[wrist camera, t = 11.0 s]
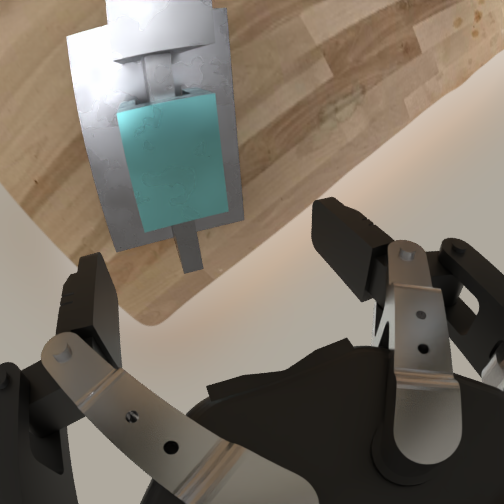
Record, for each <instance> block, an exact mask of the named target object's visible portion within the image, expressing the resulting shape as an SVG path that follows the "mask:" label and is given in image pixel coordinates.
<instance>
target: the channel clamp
mask: <svg viewBox="0 0 504 504" xmlns="http://www.w3.org/2000/svg"><path fill="white" fill-rule="evenodd" d="M182 93H183V95H182V96H176V97H171V98H166V99H161V100H156V101H152V102H147V103H143V104H139V105H136V103H135V99H134V100H130V101H126V102H122V103H120V106H119V108H118V111H117V119H118V124H119V129H120V134H121V139H122V143H123V148H124V153H125V157H126V162H127V166H128V170H129V174H130V179H131V183H132V187H133V191H134V195H135V199H136V203H137V206H138V210H139V214H140V218H141V221H142V225H143V228H144V232H149V231H153V230H157V229H160V228H164V227H168V226H172V225H176V224H180V223H184V222H188V221H192V220H196V219H200V218H204V217H208V216H212V215H216V214H220V213H224V212H228V211H229V210H228V201H227V193H226V185H225V176H224V168H223V159H222V151H221V142H220V133H219V124H218V115H217V106H216V96H215V93H213V92H210V91H207V90H204V89H201V88H198V87H193V88H187V89H182Z"/></svg>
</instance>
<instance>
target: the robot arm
mask: <svg viewBox="0 0 504 504" xmlns="http://www.w3.org/2000/svg"><path fill="white" fill-rule="evenodd" d="M311 232H312V233H311V237H312V242H313V245H314V248H315V249H316V251H317V252H318V253H319V254H320V255H321V256H322V257H323V259H324V260H325V261H326V262H327V263H328V264H329V265H330V267H331V268H332V269H333V270H334V271H335V272H336V273H337V274H338V276H339V277H340V278H341V279H342V280H343V281H344V283H345V284H346V285H347V286H348V287H349V288H350V289H351V290H352V292H353V293H354V294H355V295H356V296H357V298H358V299H359V300H360V301H361V302H364V301H367V300H369V299H372V298H374V299H375V300H376V301H375V305H374V315H373V332H372V344H371V346H354V347H353V345H352V344H351V343H350V341H349V340H348V338H345V339H343V340H340V341H337V342H335V343H332V344H330V345H327V346H325V347H322V348H319V349H317V350H315V351H313V352H312V353H311V354H309V355H308V356H306V357H305V358H303V359H302V360H300V361H299V362H297V363H296V364H294V365H293V366H291V367H290V368H288V369H286V370H284V371H278V372H269V373H260V374H250V375H242V376H239V377H236V378H232V379H229V380H226V381H222V382H219V383H215V384H212V385H208V386H206V387H207V390H208V394H209V397H207V398H206V399H204V400H203V401H201V402H199V403H198V404H197V405H195V406H194V407H193V408H192V409H191V410H190V411H189V412H188V413H187V414H186V415H184V414H183V413H181V412H180V411H178V410H177V409H176V408H174V407H173V406H171V405H170V404H168V403H167V402H166V401H164V400H163V399H162V398H160V397H159V396H157V395H156V394H155V393H153V392H152V391H151V390H149V389H148V388H147V387H145V386H144V385H143V384H141V383H140V382H139V381H138V380H136V379H135V378H134V377H133V376H131V375H130V374H129V373H127V372H126V371H125V370H123V369H122V361H121V350H120V349H121V348H120V333H119V313H118V298H117V293H116V290H115V287H114V284H113V282H112V279H111V277H110V274H109V272H108V269H107V267H106V264H105V262H104V259H103V257H102V255H101V253H100V252H97V253H94V254H90V255H87V256H83V257H80V259H79V265H78V271H77V273H74V274H71V275H70V276H69V278H68V279H67V281H66V282H65V284H64V285H63V291H62V298H61V302H60V305H61V306H60V308H59V314H58V321H57V328H56V336H54V337H53V338H51V339H50V340H49V341H48V342H47V343H46V344H45V346H44V348H43V350H42V353H41V360H40V361H38V362H37V363H35V364H33V365H31V366H29V367H27V368H26V369H23V370H22V371H21V370H20V369H19V368H18V366H17V365H15V364H14V363H11V362H6V363H2V364H1V365H0V504H78V500H77V495H76V490H75V485H74V479H73V473H72V466H71V460H70V451H69V443H68V434H67V426H68V425H70V424H72V423H74V422H76V421H78V420H79V419H81V418H83V417H85V416H86V417H87V418H88V419H89V420H90V421H91V422H92V423H93V424H94V425H95V426H96V427H97V428H98V429H99V430H100V431H101V432H102V433H103V434H104V435H105V436H106V437H107V438H108V439H109V440H110V441H111V442H112V443H113V444H114V445H115V446H116V447H117V448H118V449H120V450H121V451H122V452H123V453H124V454H125V455H126V456H127V457H128V458H129V459H131V460H132V461H133V462H134V463H135V464H136V465H138V466H139V467H140V468H141V469H142V470H143V471H145V472H146V473H147V474H148V475H149V476H151V477H152V480H151V482H150V484H149V486H148V488H147V490H146V492H145V494H144V496H143V499H142V501H141V503H140V504H504V275H503V274H502V273H501V272H500V271H499V270H498V269H497V268H496V267H494V266H493V265H492V264H491V263H490V262H489V261H488V260H487V259H485V258H484V257H483V256H482V255H481V254H480V253H479V252H477V251H476V250H475V249H474V248H473V247H472V246H470V245H469V244H468V243H466V242H465V241H462V240H460V239H456V238H447V239H444V240H443V241H442V244H441V247H440V251H431V252H425V251H424V249H423V248H422V247H421V246H419V245H418V244H416V243H413V242H411V241H407V240H396V241H394V240H393V239H392V238H391V237H390V236H388V235H387V234H386V233H385V232H384V231H382V230H381V229H380V228H379V227H378V226H376V225H374V224H373V222H371V221H370V220H369V219H367V218H366V217H365V216H364V215H363V214H361V213H360V212H359V211H357V210H354V209H352V208H349V207H346V206H344V205H343V204H342V203H341V202H339V201H338V200H337V199H336V198H334V197H329V198H325V199H319V200H315V201H314V202H313V206H312V231H311ZM463 285H464V286H465V287H466V288H467V289H468V290H469V291H470V292H471V293H472V294H473V295H474V296H475V297H476V298H477V300H478V302H479V312H478V314H477V316H476V315H475V314H474V312H473V311H472V310H471V309H470V308H469V307H468V306H467V305H466V304H465V303H464V302H463V301H462V300H461V299H460V298H459V295H460V292H461V290H462V288H463ZM449 337H450V339H451V340H452V341H453V342H454V344H455V345H456V346H457V347H458V349H459V350H460V351H461V352H462V353H463V355H464V356H465V357H466V359H467V360H468V361H469V362H470V364H471V365H472V366H473V367H474V369H475V370H476V371H477V373H478V374H479V375H480V377H481V378H482V382H483V383H482V382H479V381H476V380H473V379H470V378H467V377H464V376H461V375H458V374H455V373H453V369H452V359H451V349H450V342H449Z"/></svg>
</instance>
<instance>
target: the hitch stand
mask: <svg viewBox="0 0 504 504" xmlns="http://www.w3.org/2000/svg"><path fill="white" fill-rule="evenodd" d="M106 11H107V22H108V25H106V26H102V27H98V28H94V29H90V30H87V31H83V32H80V33H77V34H73V35H70V36H67V45H68V53H69V60H70V68H71V74H72V81H73V87H74V92H75V98H76V103H77V109H78V114H79V119H80V124H81V128H82V133H83V137H84V142H85V146H86V150H87V154H88V158H89V162H90V166H91V170H92V174H93V178H94V181H95V185H96V189H97V192H98V196H99V199H100V203H101V206H102V209H103V213H104V216H105V219H106V222H107V225H108V228H109V232H110V235H111V238H112V241H113V244H114V247H115V249H116V252H119V251H123V250H127V249H131V248H134V247H138V246H142V245H146V244H150V243H154V242H157V241H161V240H165V239H169V238H173V237H174V240H175V244H176V247H177V251H178V254H179V258H180V261H181V264H182V268H183V271H184V274H185V273H189V272H193V271H197V270H201V269H203V264H202V258H201V253H200V248H199V242H198V237H197V231H201V230H205V229H209V228H213V227H217V226H221V225H226V224H230V223H234V222H238V221H242V220H244V211H243V199H242V187H241V176H240V164H239V152H238V141H237V129H236V117H235V105H234V93H233V81H232V69H231V56H230V44H229V31H228V19H227V8H216V9H212V0H106ZM193 87H198V88H201V89H204V90H207V91H210V92H213V93H215V96H216V106H217V115H218V124H219V133H220V142H221V151H222V159H223V168H224V176H225V185H226V193H227V201H228V210H229V211H228V212H224V213H220V214H216V215H212V216H208V217H204V218H200V219H196V220H192V221H188V222H184V223H180V224H176V225H172V226H168V227H164V228H160V229H157V230H153V231H149V232H144V228H143V225H142V221H141V218H140V214H139V210H138V206H137V203H136V199H135V195H134V191H133V187H132V183H131V179H130V174H129V170H128V166H127V162H126V157H125V153H124V148H123V143H122V139H121V134H120V129H119V124H118V119H117V111H118V108H119V106H120V103H122V102H126V101H130V100H134V99H135V103H136V105H139V104H143V103H147V102H152V101H156V100H161V99H166V98H171V97H176V96H182V95H183V93H182V89H187V88H193Z"/></svg>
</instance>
